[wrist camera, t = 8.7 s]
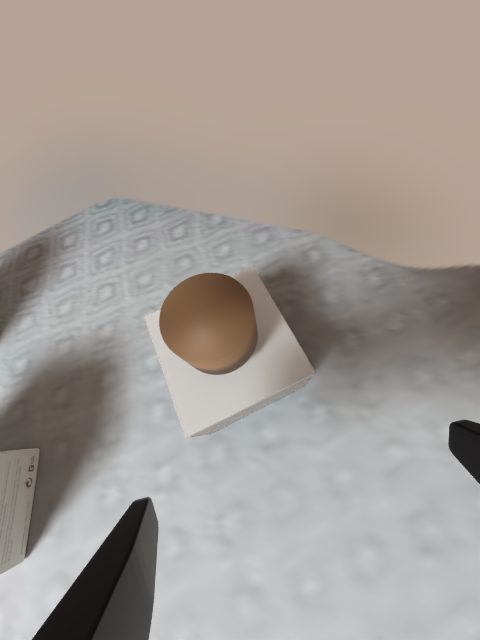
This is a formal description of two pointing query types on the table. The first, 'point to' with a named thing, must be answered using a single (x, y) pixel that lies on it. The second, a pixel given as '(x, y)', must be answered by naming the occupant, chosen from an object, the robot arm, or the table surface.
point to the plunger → (210, 323)
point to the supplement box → (16, 503)
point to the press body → (242, 384)
